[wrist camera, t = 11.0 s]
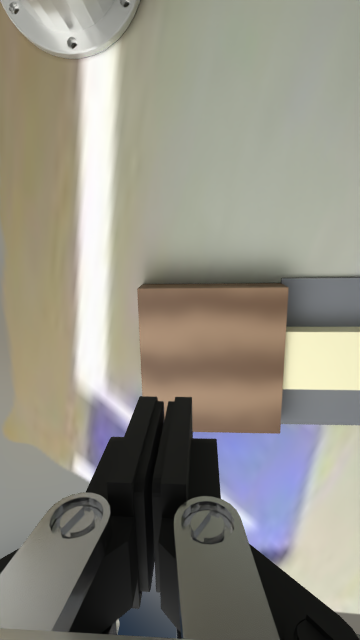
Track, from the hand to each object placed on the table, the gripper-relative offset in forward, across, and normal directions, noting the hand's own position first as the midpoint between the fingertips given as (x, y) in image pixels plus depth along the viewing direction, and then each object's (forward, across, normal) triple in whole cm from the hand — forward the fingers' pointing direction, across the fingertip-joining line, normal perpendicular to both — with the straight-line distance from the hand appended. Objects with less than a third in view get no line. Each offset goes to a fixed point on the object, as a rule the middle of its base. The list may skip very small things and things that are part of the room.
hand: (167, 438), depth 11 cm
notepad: (+25, -14, +6) cm, 29 cm away
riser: (+25, -2, +6) cm, 26 cm away
